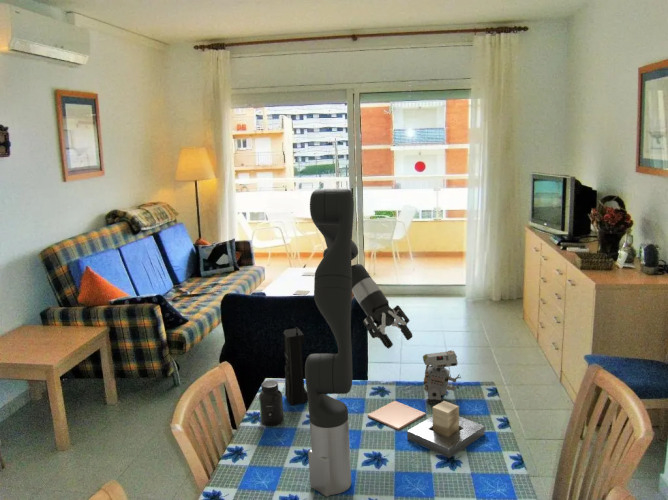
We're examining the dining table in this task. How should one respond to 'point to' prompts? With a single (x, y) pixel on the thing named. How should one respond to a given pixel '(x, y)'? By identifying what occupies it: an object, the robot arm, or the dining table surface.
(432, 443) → the socket block
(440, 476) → the dining table surface
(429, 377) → the figurine
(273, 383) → the supplement bottle
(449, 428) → the beech peg
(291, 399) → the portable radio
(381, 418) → the terracotta tile
